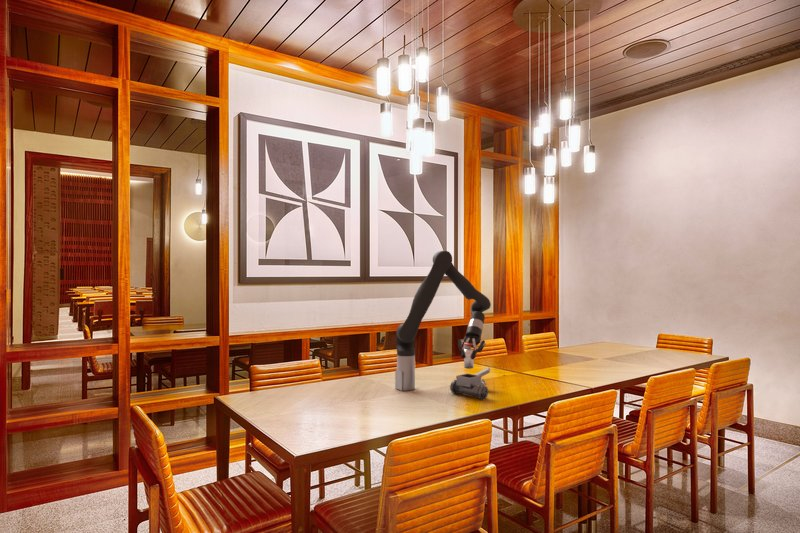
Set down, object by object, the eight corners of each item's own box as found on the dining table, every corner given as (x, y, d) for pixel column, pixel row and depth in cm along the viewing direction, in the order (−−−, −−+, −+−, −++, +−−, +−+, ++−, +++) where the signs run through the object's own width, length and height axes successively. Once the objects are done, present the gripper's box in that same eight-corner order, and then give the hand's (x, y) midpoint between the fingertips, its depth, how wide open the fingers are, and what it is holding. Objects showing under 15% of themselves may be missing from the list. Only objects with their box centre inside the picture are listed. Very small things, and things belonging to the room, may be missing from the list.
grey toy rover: (489, 398, 234) (489, 377, 234) (478, 401, 228) (478, 380, 228) (459, 391, 247) (459, 371, 247) (448, 394, 241) (448, 374, 241)
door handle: (461, 401, 250) (496, 384, 246) (453, 387, 251) (488, 369, 247) (465, 392, 267) (497, 376, 263) (457, 379, 268) (490, 362, 264)
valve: (468, 369, 235) (468, 344, 235) (462, 367, 238) (462, 343, 238) (475, 368, 237) (475, 343, 237) (469, 366, 241) (469, 342, 241)
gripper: (459, 324, 248) (451, 352, 236) (487, 325, 242) (480, 354, 231) (462, 333, 252) (455, 361, 241) (490, 335, 246) (483, 363, 235)
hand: (467, 357), depth 236 cm, fingers closed on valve, 4 cm apart
